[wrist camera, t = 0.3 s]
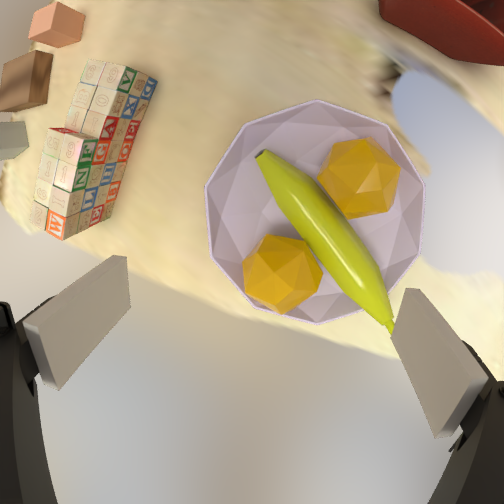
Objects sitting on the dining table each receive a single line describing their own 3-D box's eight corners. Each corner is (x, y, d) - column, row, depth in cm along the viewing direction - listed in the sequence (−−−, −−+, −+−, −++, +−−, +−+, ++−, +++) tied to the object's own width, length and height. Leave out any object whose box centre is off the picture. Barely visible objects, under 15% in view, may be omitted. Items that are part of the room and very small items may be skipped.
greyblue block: (9, 134, 40) (-22, 137, 32) (24, 121, 39) (-8, 122, 31) (14, 158, 41) (-17, 163, 33) (29, 146, 40) (-3, 149, 33)
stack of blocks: (123, 71, 36) (74, 52, 24) (159, 80, 36) (114, 59, 24) (80, 204, 43) (28, 222, 31) (110, 219, 43) (61, 242, 31)
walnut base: (21, 67, 36) (4, 63, 31) (54, 55, 35) (35, 49, 30) (16, 112, 38) (-3, 111, 34) (47, 103, 38) (28, 102, 33)
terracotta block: (63, 23, 33) (34, 11, 25) (85, 15, 32) (57, 1, 25) (58, 48, 34) (28, 38, 27) (80, 40, 34) (50, 29, 26)
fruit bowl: (184, 155, 39) (148, 157, 28) (377, 88, 33) (409, 68, 23) (258, 333, 46) (250, 382, 35) (427, 278, 41) (461, 314, 30)
